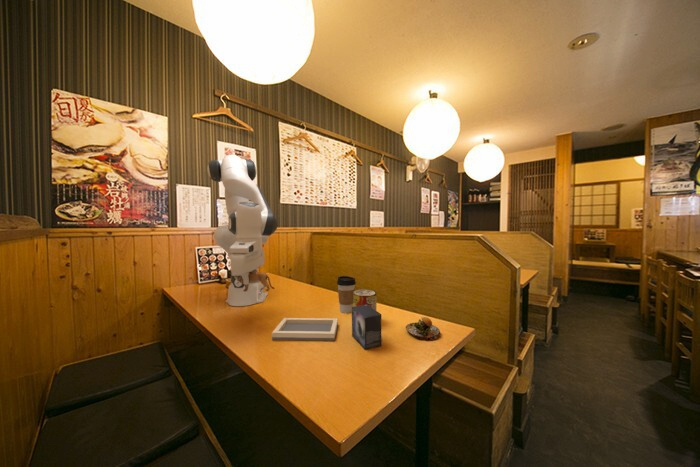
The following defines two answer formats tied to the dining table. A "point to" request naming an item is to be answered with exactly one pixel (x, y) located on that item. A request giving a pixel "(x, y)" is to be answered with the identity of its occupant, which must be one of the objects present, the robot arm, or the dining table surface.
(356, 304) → the yellow food can
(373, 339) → the small box
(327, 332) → the picture frame
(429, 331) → the plate of food
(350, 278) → the coffee cup
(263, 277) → the lion figurine
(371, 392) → the dining table surface
